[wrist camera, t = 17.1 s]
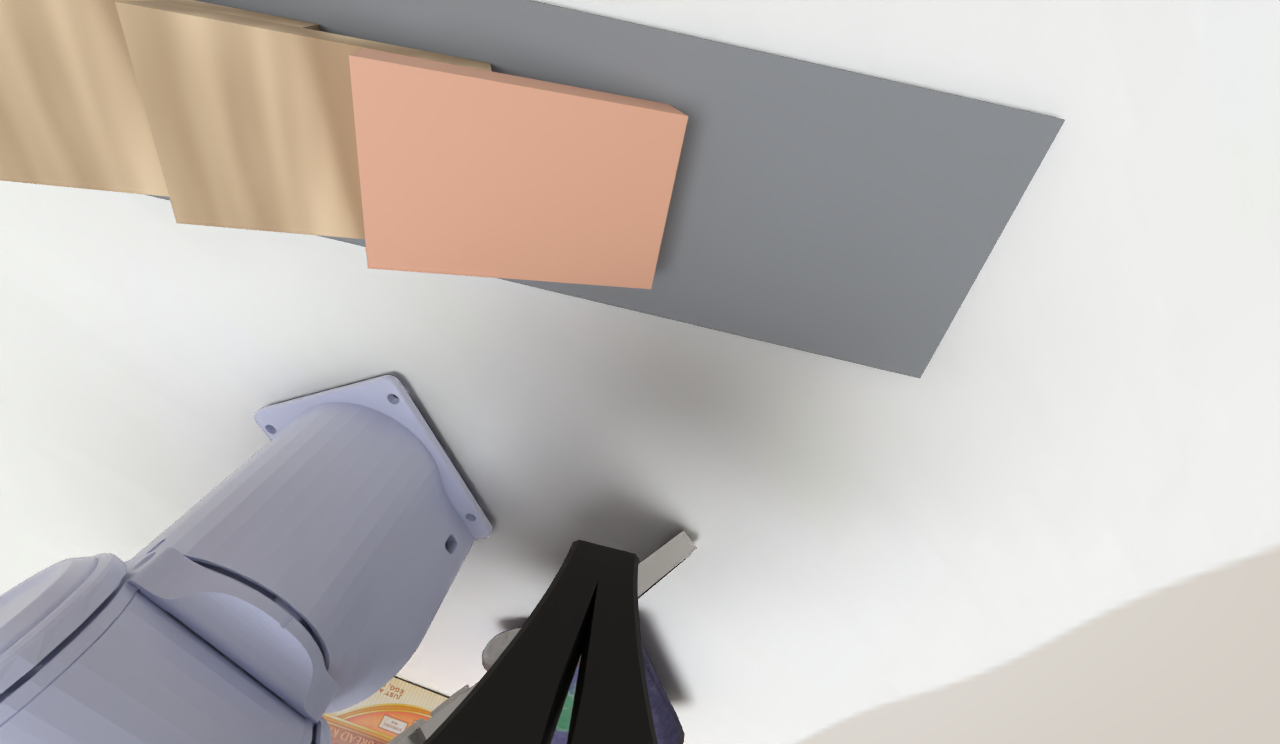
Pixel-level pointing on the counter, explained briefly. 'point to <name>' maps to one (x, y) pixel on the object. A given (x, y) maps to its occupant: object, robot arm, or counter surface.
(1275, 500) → the counter surface
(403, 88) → the domino
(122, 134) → the domino
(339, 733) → the coffeecake box
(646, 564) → the smartphone
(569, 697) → the navy pouch
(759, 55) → the mat
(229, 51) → the domino
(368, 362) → the counter surface
